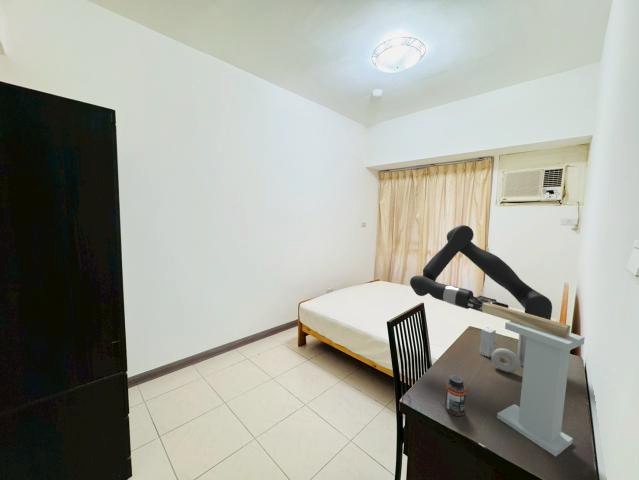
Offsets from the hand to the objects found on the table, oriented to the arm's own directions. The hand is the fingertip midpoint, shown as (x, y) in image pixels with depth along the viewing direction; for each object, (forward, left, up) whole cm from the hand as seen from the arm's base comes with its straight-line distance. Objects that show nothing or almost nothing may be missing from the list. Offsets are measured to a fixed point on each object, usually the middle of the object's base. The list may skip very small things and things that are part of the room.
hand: (505, 310), depth 92 cm
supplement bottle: (+23, -1, -32) cm, 40 cm away
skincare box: (-26, -19, -32) cm, 45 cm away
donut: (-18, -7, -32) cm, 37 cm away
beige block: (+9, +9, 0) cm, 12 cm away
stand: (+8, +15, -32) cm, 36 cm away
